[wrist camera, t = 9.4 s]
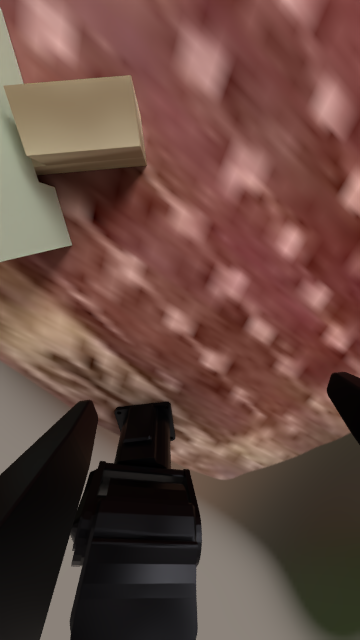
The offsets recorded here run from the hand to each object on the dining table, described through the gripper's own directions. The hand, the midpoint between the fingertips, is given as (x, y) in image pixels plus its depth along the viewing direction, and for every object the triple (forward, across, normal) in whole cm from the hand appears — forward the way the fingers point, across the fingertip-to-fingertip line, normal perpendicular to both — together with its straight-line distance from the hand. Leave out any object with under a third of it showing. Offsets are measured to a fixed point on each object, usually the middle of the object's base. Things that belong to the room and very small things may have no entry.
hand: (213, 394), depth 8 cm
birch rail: (+12, +10, -11) cm, 19 cm away
